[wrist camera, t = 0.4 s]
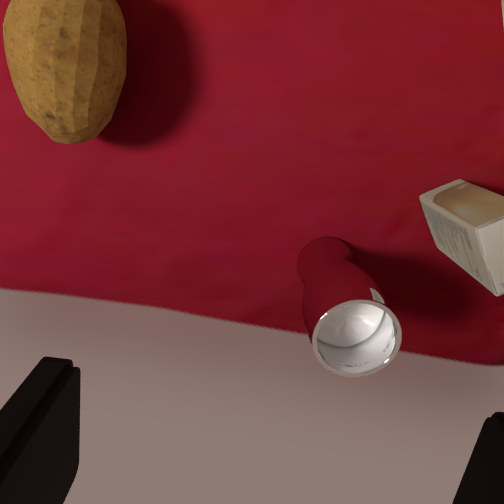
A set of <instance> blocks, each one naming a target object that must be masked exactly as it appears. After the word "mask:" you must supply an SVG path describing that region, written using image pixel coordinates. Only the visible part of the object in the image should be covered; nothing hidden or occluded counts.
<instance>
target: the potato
mask: <svg viewBox="0 0 504 504" xmlns="http://www.w3.org/2000/svg"><path fill="white" fill-rule="evenodd" d="M3 35H4V47H5V52H6V57H7V62H8V67H9V70H10V74H11V78H12V82H13V84H14V87H15V89H16V92H17V94H18V97H19V99H20V101H21V104H22V106H23V108H24V110H25V112H26V114H27V115H28V116H29V117H30V118H31V119H32V120H33V121H34V122H36V123H37V124H38V125H39V126H40V127H41V128H42V129H43V131H44V132H45V133H46V134H47V135H48V136H49V137H50V138H51V139H52V140H53V141H55V142H60V143H66V144H75V143H82V142H86V141H89V140H92V139H94V138H96V137H97V135H98V134H99V133H100V132H101V131H102V130H103V129H104V127H105V126H106V125H107V124H108V123H109V122H110V121H111V118H112V116H113V113H114V110H115V107H116V104H117V102H118V99H119V96H120V93H121V90H122V87H123V84H124V80H125V77H126V59H127V36H126V27H125V21H124V17H123V14H122V11H121V8H120V6H119V5H118V3H117V1H116V0H11V2H10V4H9V6H8V9H7V12H6V16H5V19H4V23H3Z"/></svg>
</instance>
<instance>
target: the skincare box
mask: <svg viewBox="0 0 504 504" xmlns="http://www.w3.org/2000/svg"><path fill="white" fill-rule="evenodd" d="M420 201H421V204H422V208H423V211H424V214H425V217H426V220H427V222H428V225H429V228H430V231H431V233H432V236H433V239H434V241H435V243H436V246H437V248H438V249H439V250H441V251H442V252H443V253H444V254H446V255H447V256H448V257H449V258H451V259H452V260H453V261H454V262H455V263H457V264H458V265H459V266H460V267H461V268H463V269H464V270H465V271H466V272H468V273H469V274H470V275H471V276H472V277H474V278H475V279H476V280H477V281H478V282H480V283H481V284H482V285H483V286H485V287H486V288H487V289H488V290H489V291H491V292H492V293H493V294H494V295H495V296H500V295H502V294H504V196H502V195H499V194H497V193H494V192H492V191H489V190H487V189H484V188H481V187H479V186H476V185H474V184H471V183H469V182H466V181H464V180H461V179H458V180H455V181H453V182H450V183H448V184H445V185H443V186H440V187H438V188H436V189H433V190H431V191H429V192H426V193H424V194H422V195H420Z"/></svg>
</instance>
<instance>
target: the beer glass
mask: <svg viewBox="0 0 504 504" xmlns="http://www.w3.org/2000/svg"><path fill="white" fill-rule="evenodd" d="M297 272H298V275H299V277H300V279H301V281H302V282H303V284H304V289H303V296H302V313H303V319H304V324H305V328H306V331H307V334H308V337H309V340H310V342H311V345H312V347H313V351H314V354H315V356H316V358H317V360H318V361H319V362H320V364H321V365H322V366H323V367H325V368H326V369H327V370H329V371H330V372H332V373H335V374H337V375H340V376H345V377H363V376H367V375H370V374H373V373H375V372H378V371H379V370H381V369H383V368H384V367H385V366H387V365H388V364H389V363H390V362H391V361H392V360H393V358H394V357H395V356H396V354H397V352H398V350H399V348H400V345H401V339H402V331H401V326H400V323H399V321H398V319H397V317H396V316H395V314H394V311H393V309H392V307H391V304H390V302H389V300H388V299H387V297H386V295H385V293H384V292H383V290H382V289H381V287H380V286H379V285H378V283H377V282H376V281H375V280H374V279H373V278H372V277H371V276H370V275H369V274H368V273H367V272H365V271H364V270H363V269H362V268H360V267H359V266H357V265H356V262H355V257H354V254H353V252H352V250H351V249H350V247H349V246H348V245H347V244H346V243H344V242H343V241H341V240H339V239H336V238H332V237H323V238H318V239H315V240H313V241H311V242H310V243H308V244H307V245H306V246H305V247H304V248H303V249H302V251H301V252H300V254H299V256H298V259H297Z"/></svg>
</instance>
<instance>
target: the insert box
mask: <svg viewBox="0 0 504 504" xmlns="http://www.w3.org/2000/svg"><path fill="white" fill-rule="evenodd" d="M501 1H502V13H503V24H504V0H501Z"/></svg>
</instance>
